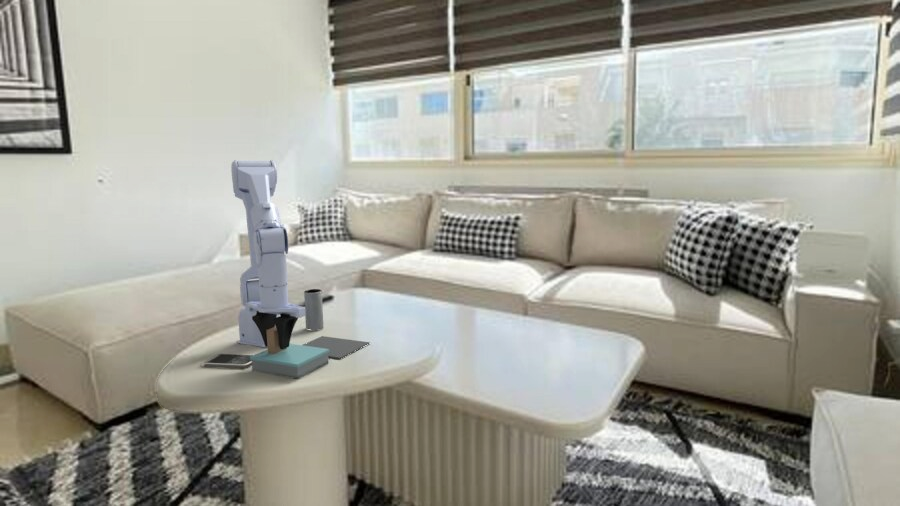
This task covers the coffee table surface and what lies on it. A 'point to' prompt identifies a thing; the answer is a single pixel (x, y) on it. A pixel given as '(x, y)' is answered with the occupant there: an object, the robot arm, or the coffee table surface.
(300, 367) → the tub
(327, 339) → the mat
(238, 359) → the cell phone
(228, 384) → the coffee table surface
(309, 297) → the grey cylinder
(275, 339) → the lid
